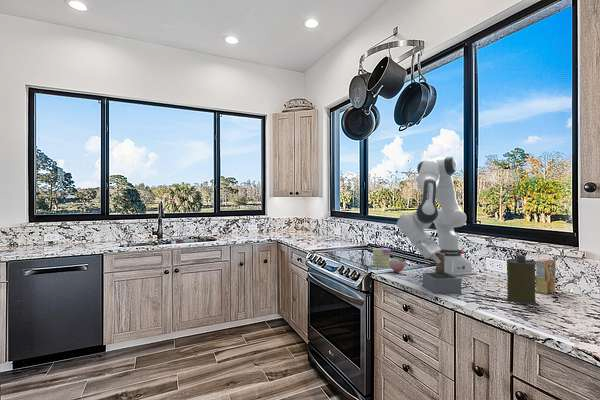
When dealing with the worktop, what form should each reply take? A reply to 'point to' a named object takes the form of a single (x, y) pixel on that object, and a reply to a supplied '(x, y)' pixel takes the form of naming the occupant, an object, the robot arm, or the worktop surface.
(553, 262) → the candy box
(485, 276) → the worktop surface
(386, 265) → the box
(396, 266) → the decorative fruit
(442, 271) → the walnut peg
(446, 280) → the socket box
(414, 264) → the fork
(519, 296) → the canister
